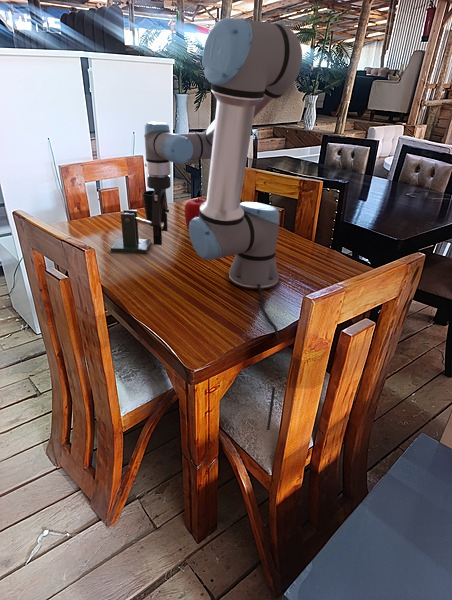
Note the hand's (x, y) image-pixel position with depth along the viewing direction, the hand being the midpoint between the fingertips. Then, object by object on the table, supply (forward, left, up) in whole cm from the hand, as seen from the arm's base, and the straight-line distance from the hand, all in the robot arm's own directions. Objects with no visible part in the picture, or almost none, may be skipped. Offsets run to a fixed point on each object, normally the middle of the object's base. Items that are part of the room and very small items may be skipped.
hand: (160, 237), depth 139 cm
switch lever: (0, +6, +4) cm, 7 cm away
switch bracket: (0, +11, -4) cm, 11 cm away
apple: (+19, -11, -4) cm, 23 cm away
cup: (+29, +8, -4) cm, 30 cm away
